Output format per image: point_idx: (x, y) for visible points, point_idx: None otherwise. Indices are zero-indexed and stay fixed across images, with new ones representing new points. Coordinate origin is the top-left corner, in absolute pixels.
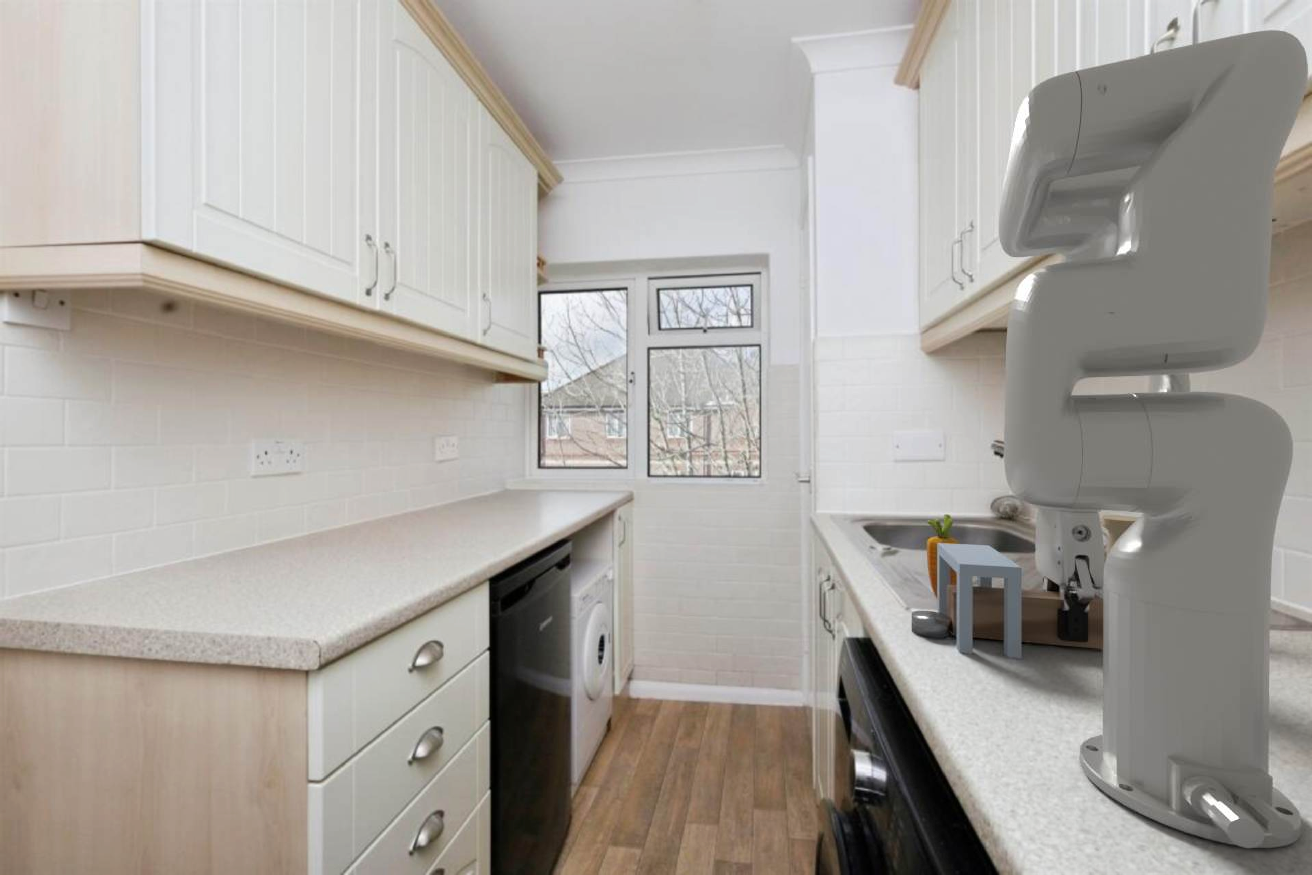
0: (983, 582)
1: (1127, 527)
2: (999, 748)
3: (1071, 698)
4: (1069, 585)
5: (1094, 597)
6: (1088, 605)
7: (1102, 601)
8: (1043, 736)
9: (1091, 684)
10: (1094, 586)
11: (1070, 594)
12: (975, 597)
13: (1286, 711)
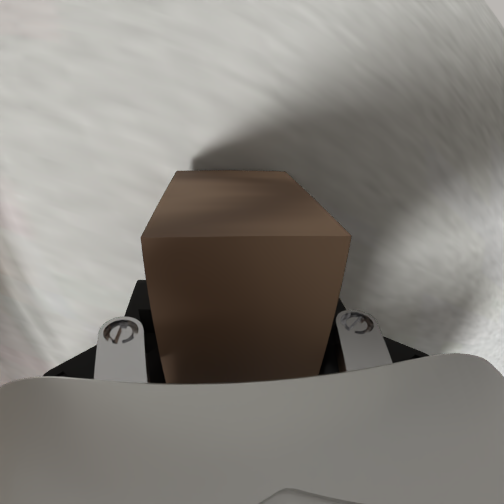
0: None
1: None
2: None
3: (467, 322)
4: (147, 379)
5: (239, 270)
6: (380, 333)
7: (325, 259)
8: (499, 352)
9: (444, 286)
10: (376, 366)
11: (206, 360)
12: None
13: (497, 31)
